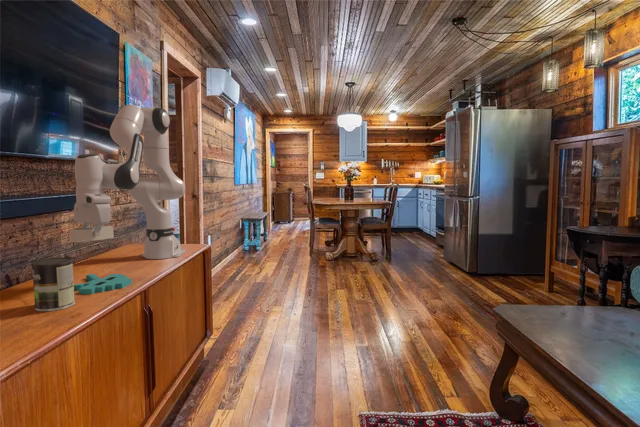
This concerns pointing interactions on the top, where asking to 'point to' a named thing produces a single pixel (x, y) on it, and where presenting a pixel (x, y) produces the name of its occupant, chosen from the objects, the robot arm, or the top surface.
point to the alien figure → (102, 283)
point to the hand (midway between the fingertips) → (92, 235)
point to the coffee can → (53, 284)
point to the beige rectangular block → (90, 234)
